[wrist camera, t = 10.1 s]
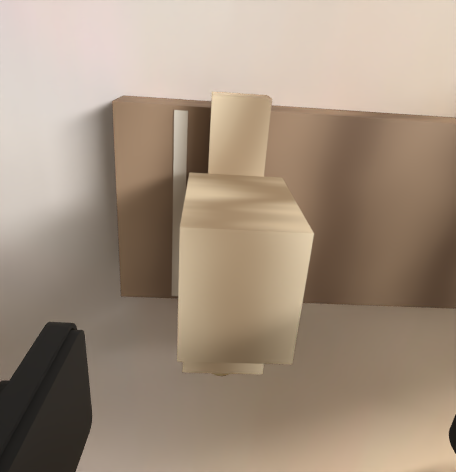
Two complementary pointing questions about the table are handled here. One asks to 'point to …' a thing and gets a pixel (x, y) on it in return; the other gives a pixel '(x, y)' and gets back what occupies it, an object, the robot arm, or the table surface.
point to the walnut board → (302, 197)
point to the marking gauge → (240, 250)
